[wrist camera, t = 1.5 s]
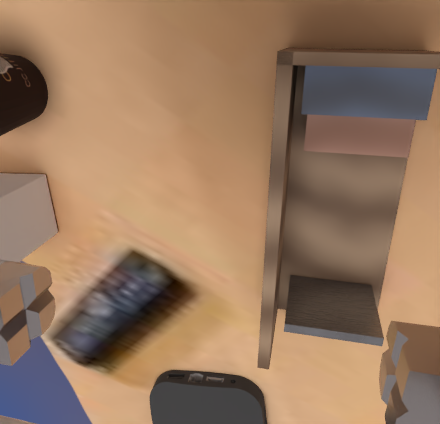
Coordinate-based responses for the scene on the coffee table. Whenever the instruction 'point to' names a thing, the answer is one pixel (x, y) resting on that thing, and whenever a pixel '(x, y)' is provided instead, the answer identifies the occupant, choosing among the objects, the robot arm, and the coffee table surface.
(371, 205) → the shelf
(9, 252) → the milk carton
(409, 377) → the robot arm
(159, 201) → the coffee table surface
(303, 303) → the bookend
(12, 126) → the coffee mug
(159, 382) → the media streaming box
